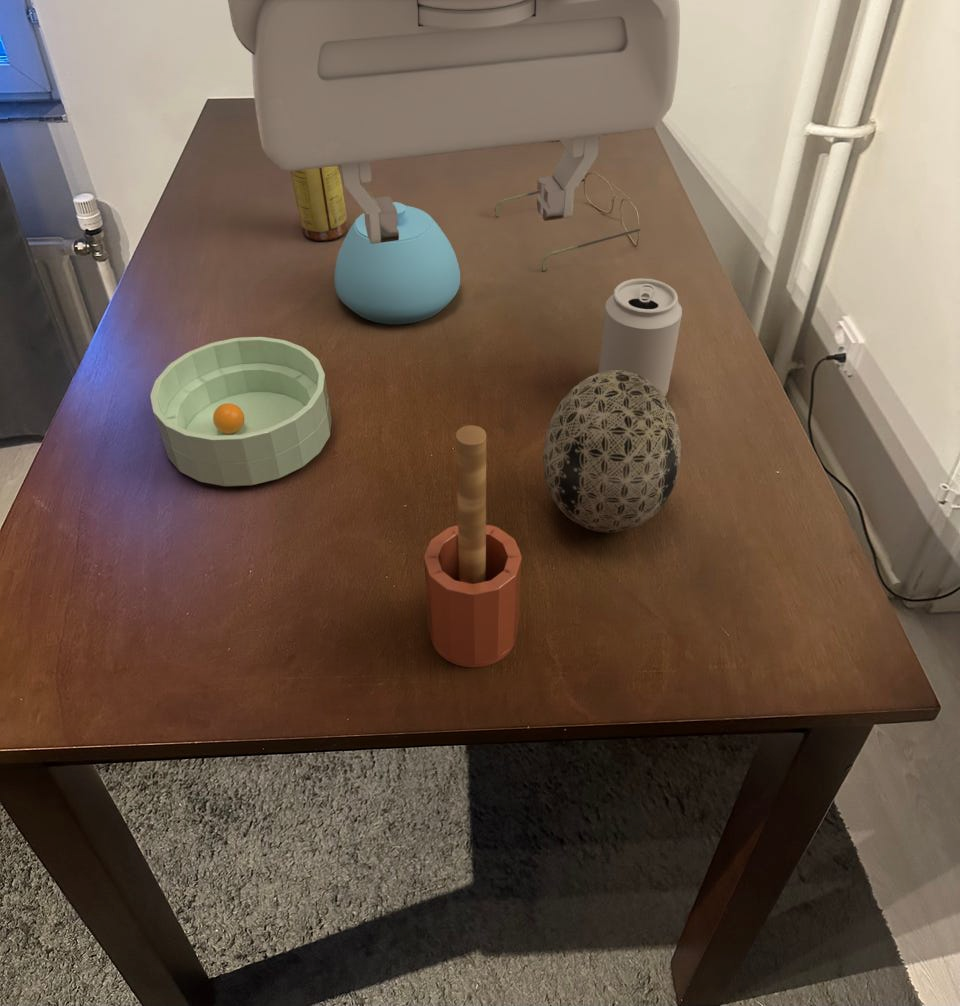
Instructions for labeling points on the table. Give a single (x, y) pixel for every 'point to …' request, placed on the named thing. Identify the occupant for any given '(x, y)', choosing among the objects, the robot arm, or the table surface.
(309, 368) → the bowl
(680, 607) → the table surface
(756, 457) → the table surface
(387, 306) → the sugar bowl
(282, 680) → the table surface
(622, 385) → the decorative egg
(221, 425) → the bead
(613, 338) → the can
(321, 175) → the sauce bottle
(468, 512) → the stirring stick
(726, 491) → the table surface
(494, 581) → the utensil pot
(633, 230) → the eyeglasses
